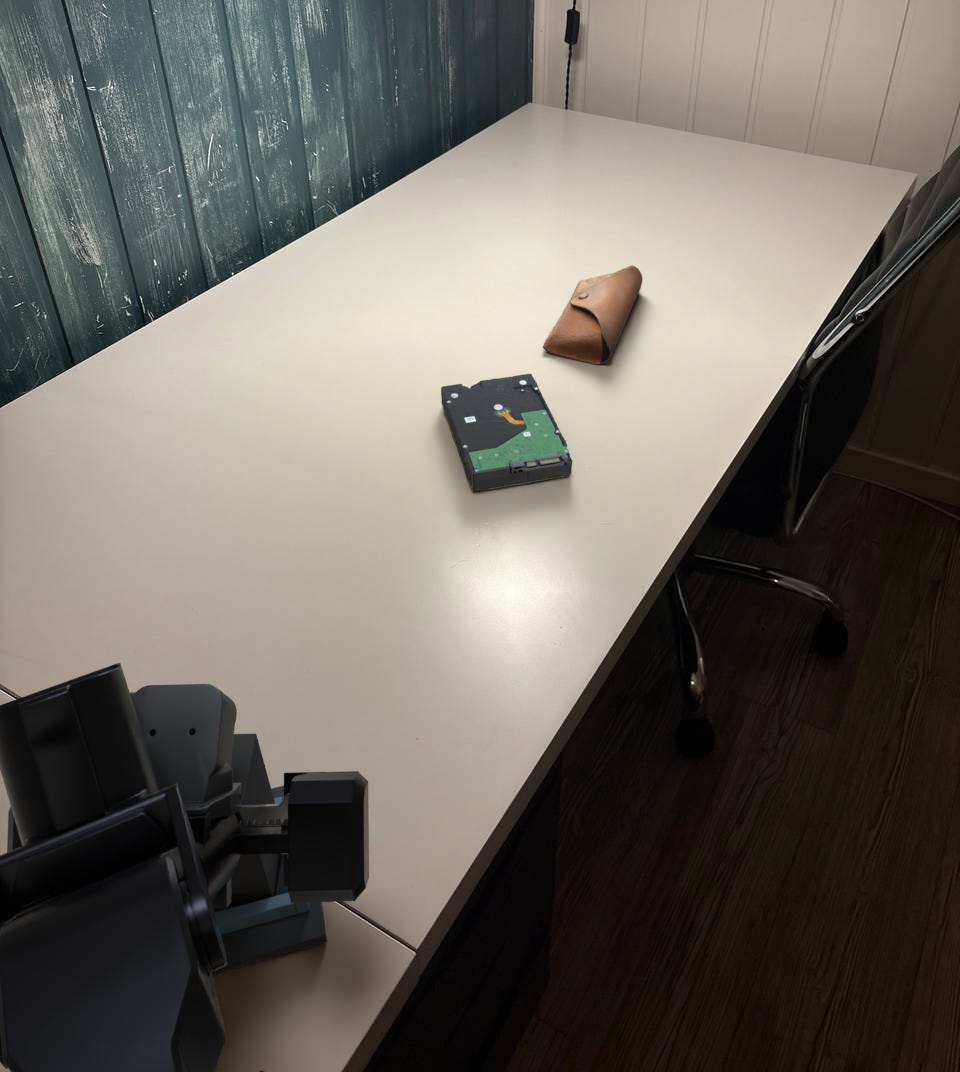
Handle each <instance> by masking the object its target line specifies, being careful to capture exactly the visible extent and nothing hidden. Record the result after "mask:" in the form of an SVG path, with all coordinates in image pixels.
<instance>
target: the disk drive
mask: <svg viewBox="0 0 960 1072" xmlns="http://www.w3.org/2000/svg"><path fill="white" fill-rule="evenodd" d="M440 395H441V396H440V398H441V405H442V410H443V413H444V416H445V419H446V420H447V423H448V425H449V429H450V432H451V435H452V437H453V440H454V443H455V445H456V449H457V452H458V454H459V457H460V459H461V463H462V467H463V468H464V473H465V476H466V478H467V481H468V483H469V486H470V487H471V491H472V492H476V491H482V490H493V489H499V488H504V487H510V486H517V485H522V484H523V485H524V484H528V483H535V482H540V481H546V480H551V479H558V478H563V477H565V476H570V475H572V468H573V459H572V457H571V454H570V450H569V448H568V444H567V440H565V437H564V436H563V434H562V432H561V431H560V430H561V429H560V428H559V426H558V424H557V422H556V420H555V418H554V416H553V414H552V412H551V409H550V408H549V405H548V404H547V402H546V400H545V398H544V396H543V393H542V392H541V390H540V388H539V385H538V383H537V381H536V380H535V378H534V376H533V374H532V373H524V374H518V375H513V376H506V377H498V378H497V377H496V378H491V379H490V378H489V379H484V380H483V379H482V380H480V381H478V382H477V383H474V384H473V385H471V386H470V387H469V386H466V385H463V384H462V383H457V384H450V385H449V384H448V385H443V386H441V387H440Z"/></svg>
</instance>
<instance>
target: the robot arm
mask: <svg viewBox="0 0 960 1072" xmlns="http://www.w3.org/2000/svg"><path fill="white" fill-rule="evenodd" d="M124 673H125V672H124V670H123V666H122V663H121V662H117V663H114V664H111V665H107V666H106V667H103V668H100V669H97V670H95V671H91V672H89V673H86V674H84V675H80V676H77V677H75V678H73V679H69V680H67V681H64V682H61V683H58V684H56V685H52V686H49V687H47V688H44V689H41V690H39V691H36V692H33V693H30V694H27V695H24V696H22V697H19V698H15V699H14V700H11V701H8V702H5V703H2V704H0V773H1V778H2V781H3V784H4V788H5V791H6V795H7V798H8V801H9V804H10V807H9V809H8V811H7V839H6V841H7V844H6V852H5V853H3V854H0V1064H1V1065H2V1067H4V1069H5V1070H8V1071H9V1072H216V1070H217V1067H218V1064H219V1061H220V1059H221V1057H222V1056H221V1055H222V1053H223V1050H224V1047H225V1044H226V1040H227V1037H226V1036H227V1035H226V1029H225V1025H224V1020H223V1016H222V1011H221V1006H220V1002H219V1001H220V1000H219V997H218V993H217V988H216V983H215V979H214V974H212V971H216V970H218V969H220V968H222V967H224V966H226V965H228V962H227V957H226V952H225V948H224V944H223V940H222V937H221V933H220V929H219V926H218V922H217V918H216V915H215V911H214V910H220V909H227V908H228V906H229V905H230V903H231V895H232V874H233V872H234V871H235V869H236V867H237V865H238V862H239V859H240V855H245V854H284V886H288V893H289V897H290V900H291V903H298V902H322V903H331V902H332V903H333V902H334V903H335V902H336V903H337V902H356V900H357V899H358V898H359V897H360V896H361V894H362V893H364V891H365V890H366V888H367V886H368V883H369V879H370V820H369V819H370V818H369V817H370V815H369V814H370V812H369V811H370V810H369V805H370V803H369V780H368V779H367V778H366V777H365V776H364V775H362V773H361V772H360V771H359V770H356V771H355V770H353V771H351V770H350V771H301V772H284V773H283V786H284V799H283V801H282V803H280V804H253V805H241V789H242V783H233V769H232V768H231V761H232V750H233V739H234V734H235V726H236V722H237V715H238V712H237V711H238V709H237V707H236V706H237V705H236V703H235V701H234V700H233V699H232V698H231V697H229V696H228V695H227V694H226V693H224V692H223V691H222V690H221V689H219V688H218V687H217V686H215V685H213V684H209V683H187V684H185V683H183V684H181V683H179V684H149V685H145V686H142V687H140V688H138V689H137V690H136V691H130V690H129V685H128V683H127V679H126V677H125V674H124ZM278 819H279V821H280V824H281V825H276V823H277V821H278ZM241 820H242V822H243V825H244V826H239V825H240V822H241ZM248 820H249V821H250V823H251V826H246V825H247V823H248ZM256 820H257V822H258V825H261V824H262V822H263V820H264V821H265V824H266V826H253V825H254V824H255V821H256ZM270 820H272V822H273V825H268V824H269V823H270ZM259 1072H265V1071H264V1070H260V1071H259Z"/></svg>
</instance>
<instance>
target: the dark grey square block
mask: <svg viewBox="0 0 960 1072" xmlns="http://www.w3.org/2000/svg"><path fill="white" fill-rule="evenodd" d="M231 768H232V769H233V783H242V789H241V805H253V804H275V801H274V797H273V793H272V790H271V789H272V787H271V783H270V779H269V776H268V775H269V774H268V772H267V769H266V765H265V761H264V757H263V753H262V749H261V745H260V742H259V739H258V735H257V733H234V739H233V750H232V761H231ZM268 825H273V822H272V820H270V823H269V824H268ZM276 825H281V824H280V821H279V819H278V821H277V823H276ZM239 826H244V825H243V822H242V820H241V822H240V825H239ZM246 826H251V823H250V821H249V820H248V823H247V825H246ZM253 826H266V824H265V821H264V820H263V822H262V824H261V825H258V822H257V820H256V821H255V824H254V825H253ZM281 858H282V854H245V855H240V859H239V862H238V865H237V867H236V869H235V871H234V872H233V874H232V895H231V903H230V905H244V904H248V903H252V902H256V901H259V900H263V899H267V898H271V897H274V896H276V891H277V884H278V877H279V871H280V864H281Z"/></svg>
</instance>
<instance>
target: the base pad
mask: <svg viewBox="0 0 960 1072" xmlns="http://www.w3.org/2000/svg"><path fill="white" fill-rule="evenodd" d="M271 790H272V793H273V797H274V801H275V804H280V803H282V801H283V799H284V785H280V786H275V787H271ZM214 911H215V915H216V918H217V922H218V926H219V929H220V933H221V937H222V940H223V944H224V948H225V952H226V957H227V962H228V965H226V966H224V967H222V968H220V969H218V970H216V971H212V974H213V975H216V974H218V973H222V972H225V971H226V972H227V971H230V970H233V969H236V968H240V967H244V966H247V965H251V964H254V963H258V962H262V961H265V960H270V959H272V958H277V957H281V956H284V955H287V954H290V953H295V952H297V951H301V950H306V949H309V948H313V947H316V946H320V945H323V944H327V943H328V936H327V929H326V922H325V914H324V907H323V902H298V903H291V900H290V897H289V893H288V886H284V854H282V858H281V864H280V871H279V877H278V884H277V891H276V896H274V897H271V898H267V899H263V900H259V901H256V902H252V903H248V904H244V905H229V906H228V908H227V909H220V910H214Z"/></svg>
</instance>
